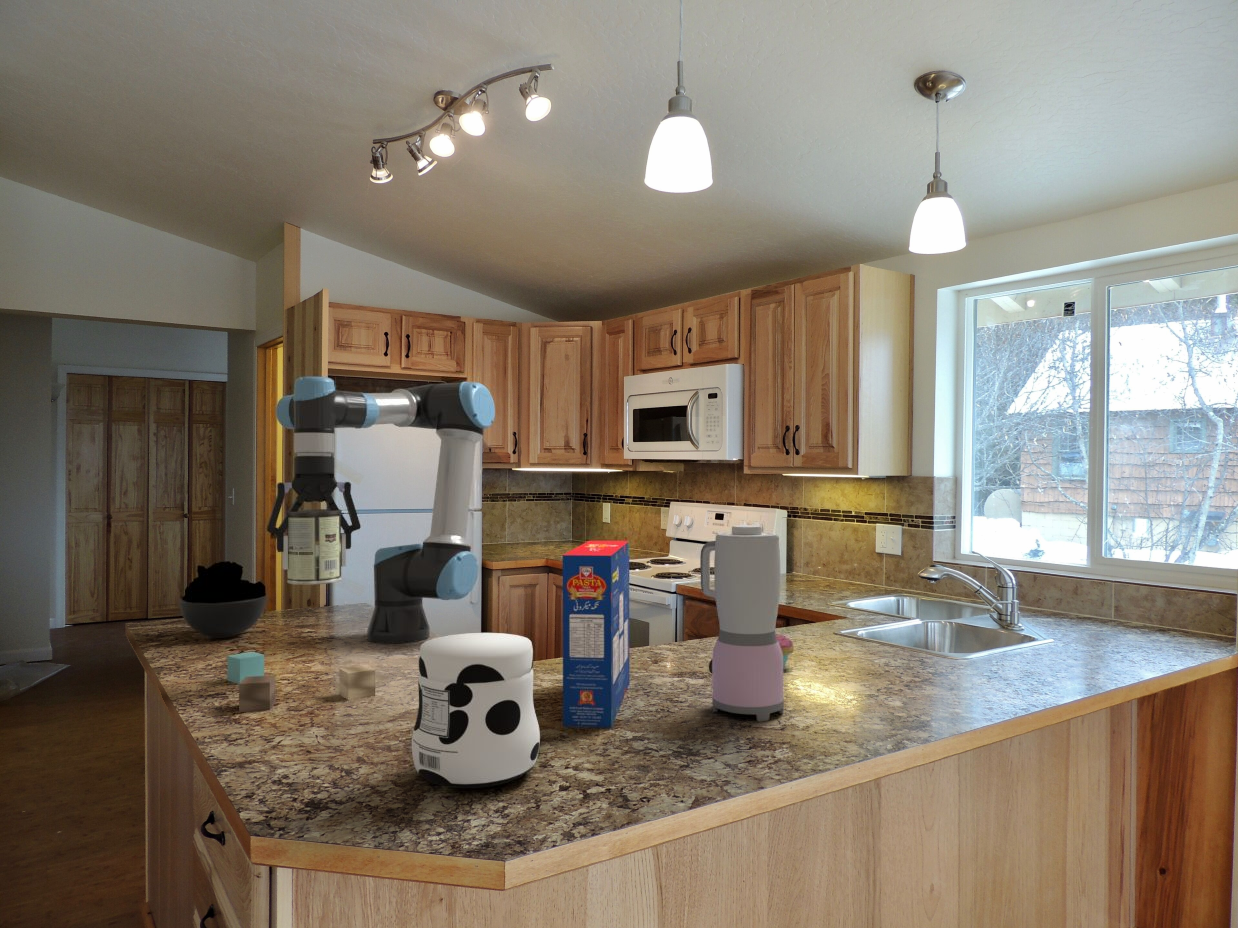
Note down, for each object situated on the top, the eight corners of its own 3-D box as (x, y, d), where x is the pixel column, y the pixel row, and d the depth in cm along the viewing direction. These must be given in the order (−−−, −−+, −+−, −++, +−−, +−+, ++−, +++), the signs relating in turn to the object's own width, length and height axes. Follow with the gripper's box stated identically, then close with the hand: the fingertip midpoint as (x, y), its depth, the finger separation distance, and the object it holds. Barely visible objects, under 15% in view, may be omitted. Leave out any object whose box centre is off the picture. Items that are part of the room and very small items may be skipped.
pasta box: (589, 682, 163) (588, 540, 163) (629, 683, 162) (629, 540, 162) (562, 725, 135) (562, 555, 135) (611, 727, 134) (611, 555, 134)
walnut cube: (275, 702, 149) (275, 675, 149) (269, 710, 144) (269, 682, 144) (245, 704, 148) (245, 676, 148) (239, 712, 143) (239, 683, 143)
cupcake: (748, 670, 172) (748, 612, 172) (757, 661, 180) (757, 606, 180) (790, 674, 169) (789, 615, 169) (797, 664, 177) (797, 608, 177)
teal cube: (251, 675, 169) (251, 651, 169) (264, 679, 166) (264, 654, 166) (227, 680, 165) (227, 655, 165) (239, 684, 162) (240, 659, 162)
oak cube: (365, 690, 157) (365, 664, 157) (375, 696, 153) (375, 669, 153) (339, 695, 154) (339, 668, 154) (348, 700, 150) (348, 673, 150)
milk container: (543, 752, 122) (543, 630, 122) (535, 798, 105) (535, 656, 105) (425, 753, 122) (425, 631, 122) (398, 800, 104) (398, 658, 105)
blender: (797, 709, 144) (796, 525, 144) (762, 726, 134) (761, 529, 134) (720, 694, 154) (719, 522, 154) (682, 708, 144) (681, 525, 144)
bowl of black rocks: (255, 626, 222) (255, 556, 222) (277, 638, 206) (277, 562, 206) (171, 635, 209) (171, 561, 209) (188, 649, 193) (188, 568, 194)
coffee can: (301, 577, 169) (301, 508, 169) (350, 578, 168) (350, 509, 168) (276, 584, 159) (276, 511, 159) (327, 585, 158) (327, 511, 158)
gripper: (369, 455, 172) (369, 562, 172) (250, 455, 162) (251, 568, 162) (376, 455, 165) (376, 565, 165) (253, 454, 155) (253, 572, 155)
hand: (314, 567), depth 164 cm, fingers closed on coffee can, 10 cm apart
